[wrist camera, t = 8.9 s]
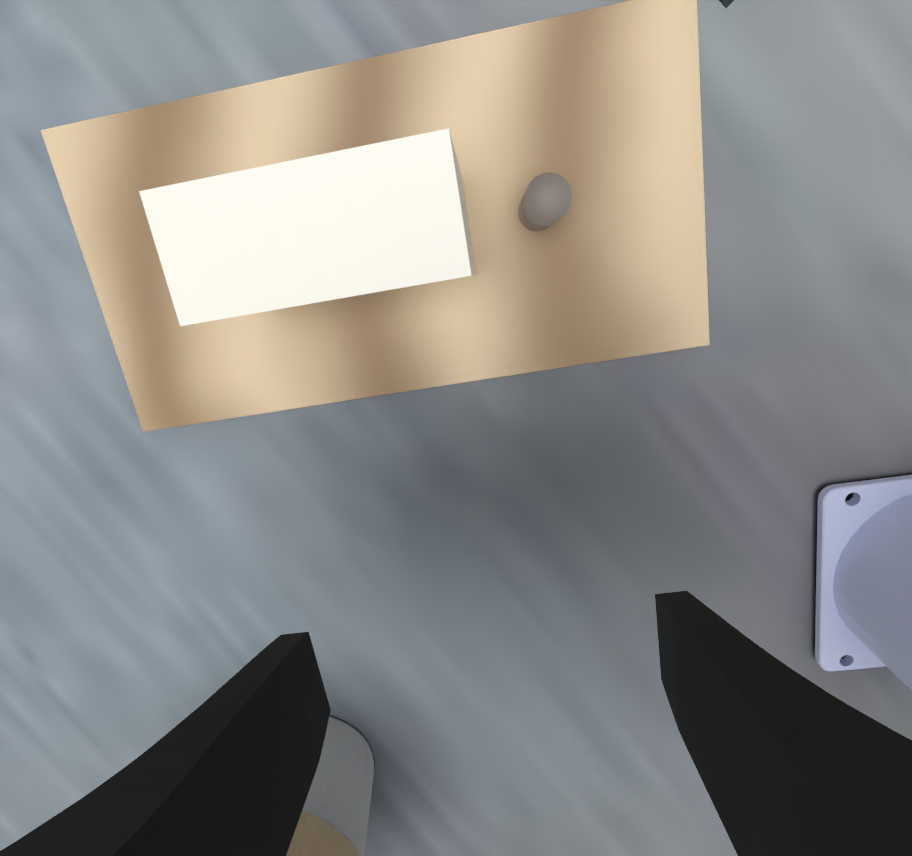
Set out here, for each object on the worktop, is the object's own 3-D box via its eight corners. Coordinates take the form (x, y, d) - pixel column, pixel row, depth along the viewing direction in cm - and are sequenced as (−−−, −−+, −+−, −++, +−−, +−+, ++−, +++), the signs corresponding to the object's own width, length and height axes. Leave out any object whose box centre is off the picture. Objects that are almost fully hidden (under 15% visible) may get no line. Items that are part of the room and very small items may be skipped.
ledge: (681, 6, 16) (746, -84, 12) (695, 340, 19) (753, 359, 14) (69, 139, 18) (-53, 100, 14) (162, 422, 21) (83, 459, 16)
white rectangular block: (460, 169, 16) (447, 120, 11) (476, 274, 17) (471, 275, 12) (245, 211, 17) (137, 184, 12) (271, 310, 18) (179, 326, 13)
